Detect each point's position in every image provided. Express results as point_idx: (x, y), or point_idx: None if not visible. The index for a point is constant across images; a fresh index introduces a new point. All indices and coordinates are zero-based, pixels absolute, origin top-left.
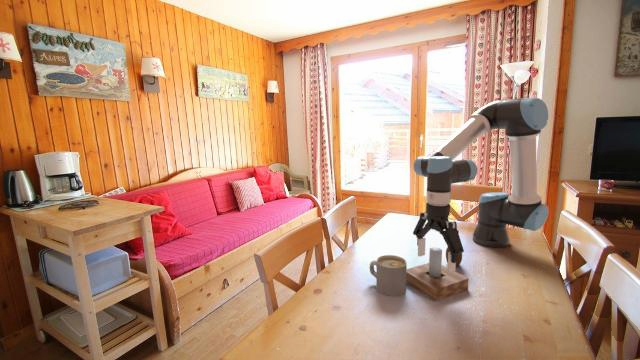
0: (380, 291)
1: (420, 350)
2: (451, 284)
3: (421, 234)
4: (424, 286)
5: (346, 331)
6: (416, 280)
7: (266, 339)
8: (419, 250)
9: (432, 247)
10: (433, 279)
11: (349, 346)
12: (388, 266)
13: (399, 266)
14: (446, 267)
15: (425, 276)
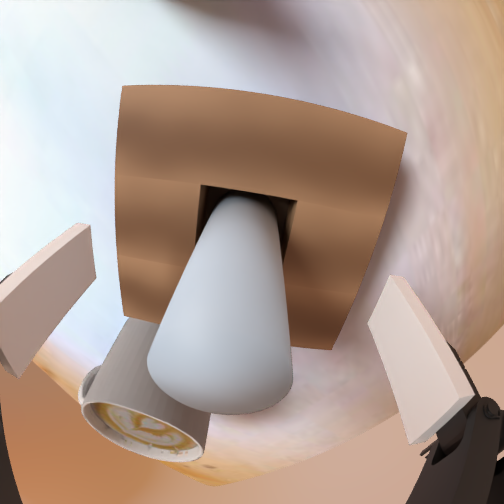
0: None
1: (371, 424)
2: (367, 263)
3: (3, 430)
4: None
5: (254, 455)
6: None
7: (207, 478)
8: (70, 305)
9: (152, 361)
10: None
11: (282, 461)
12: (157, 439)
13: (176, 429)
14: (228, 92)
15: None
